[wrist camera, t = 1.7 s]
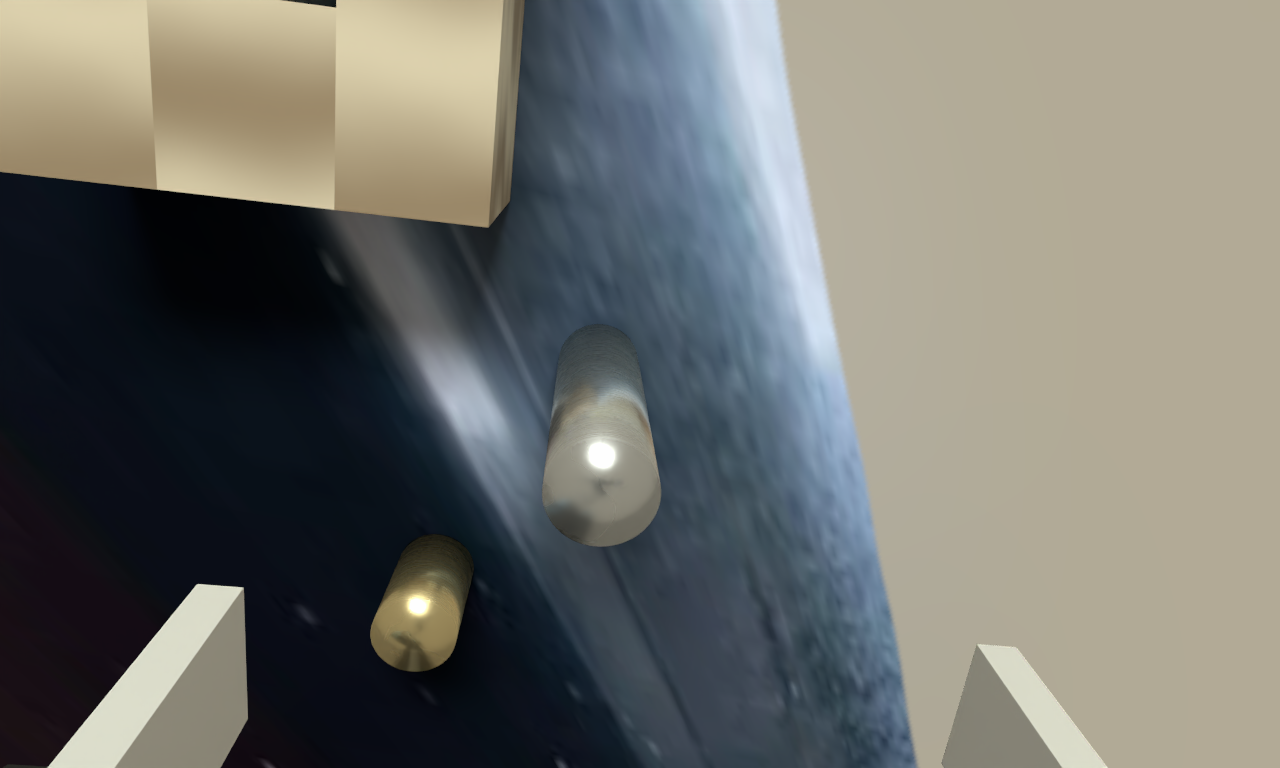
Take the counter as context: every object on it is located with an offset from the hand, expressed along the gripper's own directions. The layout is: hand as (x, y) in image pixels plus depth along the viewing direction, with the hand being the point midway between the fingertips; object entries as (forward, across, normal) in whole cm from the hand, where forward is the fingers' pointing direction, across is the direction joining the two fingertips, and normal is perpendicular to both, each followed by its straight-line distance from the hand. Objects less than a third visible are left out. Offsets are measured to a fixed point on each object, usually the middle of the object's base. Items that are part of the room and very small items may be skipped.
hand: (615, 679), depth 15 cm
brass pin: (+20, +6, +10) cm, 23 cm away
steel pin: (+20, 0, 0) cm, 20 cm away
